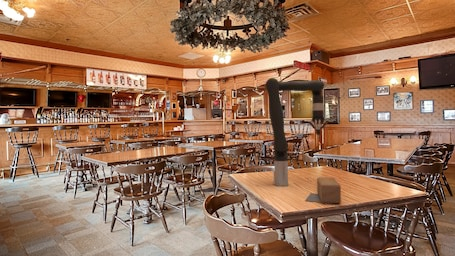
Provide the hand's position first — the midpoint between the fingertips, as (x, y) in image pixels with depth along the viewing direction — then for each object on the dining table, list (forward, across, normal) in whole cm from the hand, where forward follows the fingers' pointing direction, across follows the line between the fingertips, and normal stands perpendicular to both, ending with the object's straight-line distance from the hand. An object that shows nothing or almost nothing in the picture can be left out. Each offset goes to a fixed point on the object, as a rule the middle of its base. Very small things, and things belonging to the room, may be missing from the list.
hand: (318, 134), depth 186 cm
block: (+30, +7, -24) cm, 39 cm away
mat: (+35, +6, -35) cm, 50 cm away
